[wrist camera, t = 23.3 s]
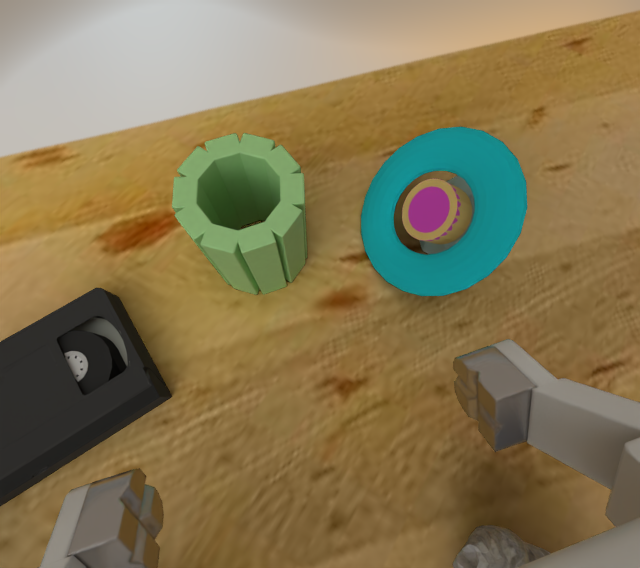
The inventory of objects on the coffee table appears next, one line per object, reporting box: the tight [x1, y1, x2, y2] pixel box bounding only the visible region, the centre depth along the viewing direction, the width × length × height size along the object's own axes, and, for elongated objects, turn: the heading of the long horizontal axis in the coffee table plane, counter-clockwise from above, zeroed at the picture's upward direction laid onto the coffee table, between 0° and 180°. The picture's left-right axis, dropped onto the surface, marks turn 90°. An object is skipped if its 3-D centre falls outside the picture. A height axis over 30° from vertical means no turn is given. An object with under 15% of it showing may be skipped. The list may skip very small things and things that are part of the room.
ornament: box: [361, 127, 527, 296], centre depth 24 cm, size 11×4×10 cm
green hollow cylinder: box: [172, 133, 307, 295], centre depth 23 cm, size 6×7×8 cm
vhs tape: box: [0, 288, 172, 506], centre depth 23 cm, size 14×8×2 cm, turn 123°
